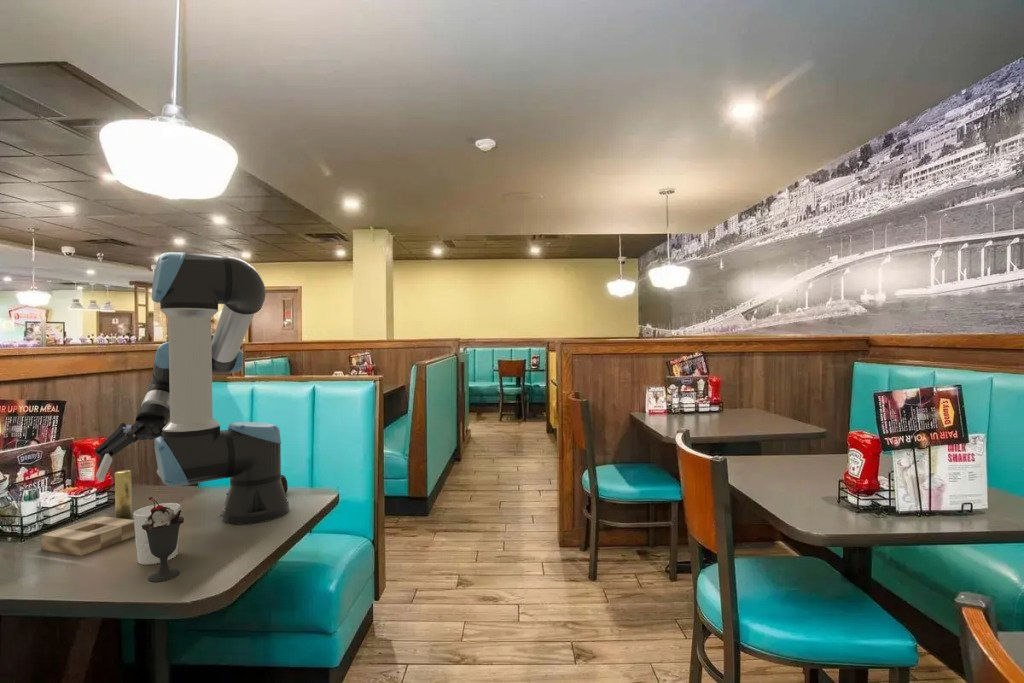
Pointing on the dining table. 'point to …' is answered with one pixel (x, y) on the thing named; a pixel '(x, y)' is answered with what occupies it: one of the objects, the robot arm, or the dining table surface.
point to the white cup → (141, 534)
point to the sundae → (163, 538)
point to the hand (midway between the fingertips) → (129, 477)
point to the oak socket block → (88, 535)
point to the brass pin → (123, 494)
